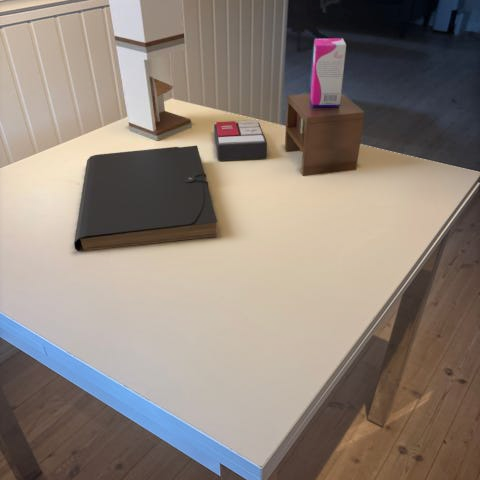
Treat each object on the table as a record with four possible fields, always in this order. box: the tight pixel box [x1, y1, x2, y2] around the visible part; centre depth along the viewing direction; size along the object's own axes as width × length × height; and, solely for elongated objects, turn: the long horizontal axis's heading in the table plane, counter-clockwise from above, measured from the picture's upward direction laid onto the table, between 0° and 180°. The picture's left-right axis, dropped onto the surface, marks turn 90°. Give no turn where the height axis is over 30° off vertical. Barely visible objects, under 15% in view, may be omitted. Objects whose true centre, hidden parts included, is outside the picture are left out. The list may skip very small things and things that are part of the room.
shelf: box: [284, 92, 366, 176], centre depth 105 cm, size 12×14×12 cm
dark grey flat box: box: [213, 119, 268, 162], centre depth 113 cm, size 11×4×15 cm
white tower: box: [108, 0, 192, 142], centre depth 112 cm, size 11×11×35 cm
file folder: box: [73, 145, 218, 252], centre depth 94 cm, size 33×4×24 cm
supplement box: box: [310, 37, 347, 108], centre depth 97 cm, size 6×6×12 cm
